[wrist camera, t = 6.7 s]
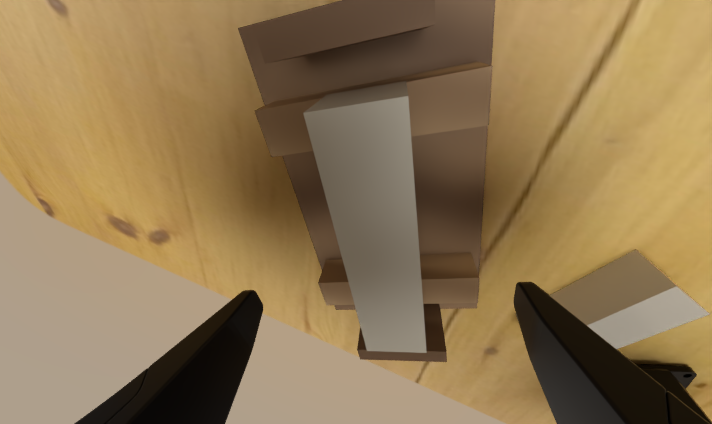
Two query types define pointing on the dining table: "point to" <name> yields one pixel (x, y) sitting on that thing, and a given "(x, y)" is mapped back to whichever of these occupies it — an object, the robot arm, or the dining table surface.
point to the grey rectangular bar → (373, 208)
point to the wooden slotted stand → (427, 122)
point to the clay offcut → (628, 301)
